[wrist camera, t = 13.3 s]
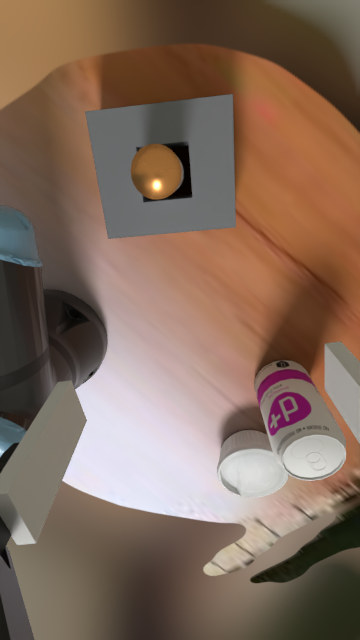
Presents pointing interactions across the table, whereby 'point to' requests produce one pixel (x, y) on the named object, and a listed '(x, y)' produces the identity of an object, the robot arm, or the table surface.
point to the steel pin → (157, 171)
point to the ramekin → (250, 465)
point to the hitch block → (171, 131)
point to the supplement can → (299, 422)
